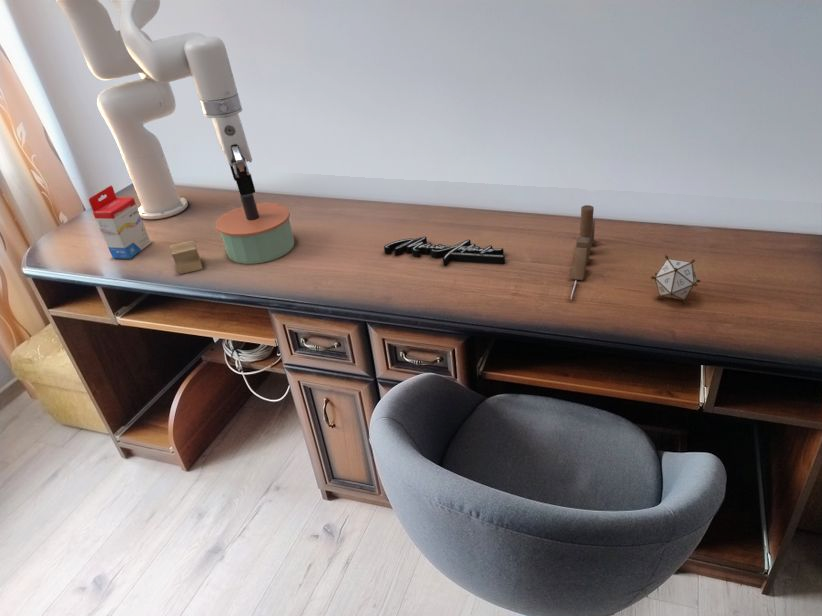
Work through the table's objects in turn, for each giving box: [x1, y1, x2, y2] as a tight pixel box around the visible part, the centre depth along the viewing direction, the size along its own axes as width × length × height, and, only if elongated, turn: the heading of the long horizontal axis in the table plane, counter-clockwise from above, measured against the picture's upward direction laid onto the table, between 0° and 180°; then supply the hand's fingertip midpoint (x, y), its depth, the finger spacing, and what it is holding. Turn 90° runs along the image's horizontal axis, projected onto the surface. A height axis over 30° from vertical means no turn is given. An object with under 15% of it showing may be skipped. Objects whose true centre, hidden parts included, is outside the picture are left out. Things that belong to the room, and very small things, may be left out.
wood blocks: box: [570, 204, 596, 300], centre depth 127 cm, size 25×3×10 cm, turn 164°
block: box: [170, 239, 204, 275], centre depth 140 cm, size 5×5×5 cm
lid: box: [215, 193, 291, 236], centre depth 141 cm, size 16×16×7 cm
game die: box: [650, 254, 701, 305], centre depth 117 cm, size 9×8×10 cm
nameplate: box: [383, 236, 506, 267], centre depth 138 cm, size 27×2×10 cm
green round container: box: [219, 218, 295, 265], centre depth 145 cm, size 15×15×7 cm
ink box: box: [88, 185, 152, 260], centre depth 146 cm, size 8×5×15 cm, turn 168°
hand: (244, 186), depth 138 cm, fingers open, 9 cm apart
